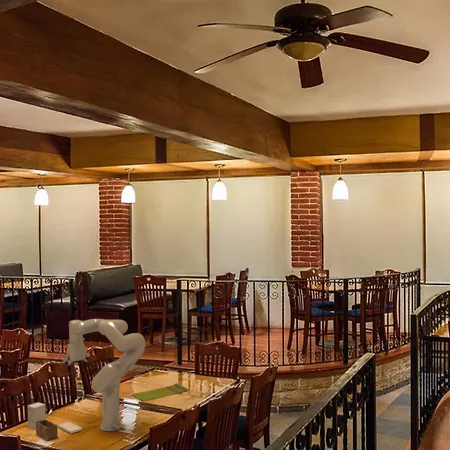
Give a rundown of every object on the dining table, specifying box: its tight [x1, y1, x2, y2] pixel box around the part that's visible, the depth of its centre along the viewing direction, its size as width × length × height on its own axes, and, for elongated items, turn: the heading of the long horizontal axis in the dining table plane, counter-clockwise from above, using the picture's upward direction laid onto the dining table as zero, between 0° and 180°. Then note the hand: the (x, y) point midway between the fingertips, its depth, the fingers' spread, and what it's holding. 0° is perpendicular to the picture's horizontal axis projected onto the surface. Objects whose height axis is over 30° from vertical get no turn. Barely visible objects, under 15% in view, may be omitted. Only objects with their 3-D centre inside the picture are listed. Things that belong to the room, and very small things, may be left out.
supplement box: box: [27, 401, 47, 430], centre depth 326 cm, size 7×7×13 cm
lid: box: [57, 421, 83, 434], centre depth 319 cm, size 15×7×2 cm, turn 42°
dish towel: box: [132, 382, 189, 403], centre depth 384 cm, size 15×36×3 cm, turn 127°
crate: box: [35, 419, 59, 442], centre depth 310 cm, size 14×6×7 cm, turn 42°
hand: (76, 370), depth 333 cm, fingers open, 9 cm apart
